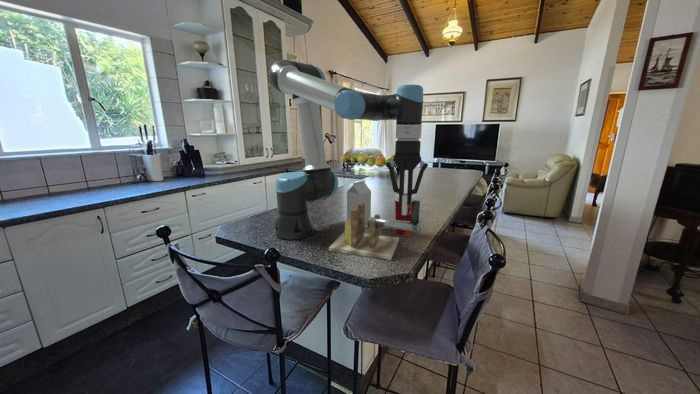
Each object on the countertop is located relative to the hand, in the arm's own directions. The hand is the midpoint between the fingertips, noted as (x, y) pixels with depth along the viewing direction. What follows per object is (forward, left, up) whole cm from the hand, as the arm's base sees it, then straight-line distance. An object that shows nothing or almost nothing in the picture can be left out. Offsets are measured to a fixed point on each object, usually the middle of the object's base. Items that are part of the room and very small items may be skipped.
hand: (404, 213), depth 89 cm
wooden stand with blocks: (-13, 0, -13) cm, 18 cm away
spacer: (-18, 0, -8) cm, 19 cm away
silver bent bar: (-4, 0, -6) cm, 7 cm away
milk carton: (-21, +18, -13) cm, 31 cm away
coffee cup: (-2, +16, -13) cm, 21 cm away
